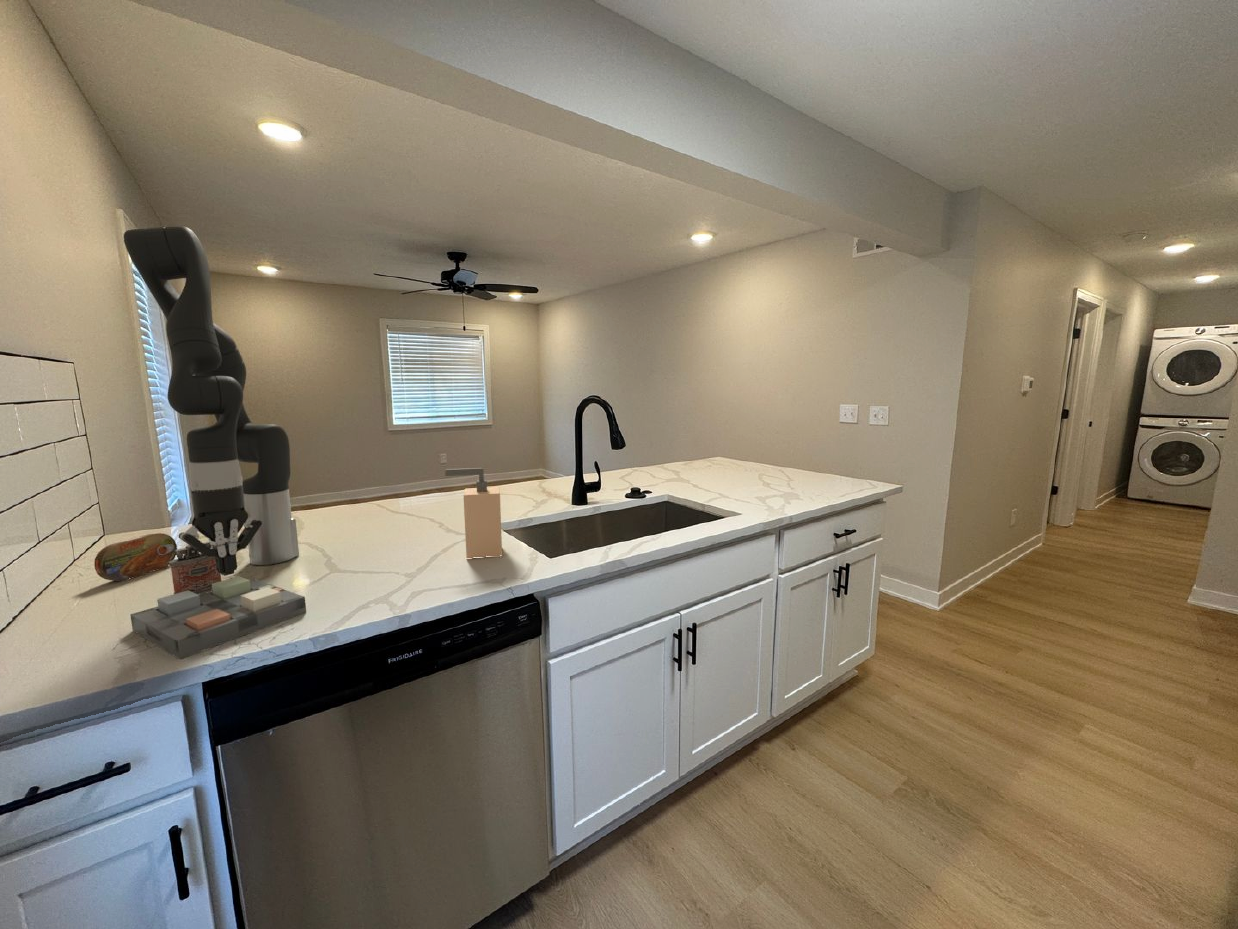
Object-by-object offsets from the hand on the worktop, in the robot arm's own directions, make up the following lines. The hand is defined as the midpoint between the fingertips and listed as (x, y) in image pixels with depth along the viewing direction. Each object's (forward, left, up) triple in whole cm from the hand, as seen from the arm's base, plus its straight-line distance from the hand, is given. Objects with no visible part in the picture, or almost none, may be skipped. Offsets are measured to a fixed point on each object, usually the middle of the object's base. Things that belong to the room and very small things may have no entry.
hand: (227, 573), depth 95 cm
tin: (+2, -38, -7) cm, 39 cm away
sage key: (0, 0, -4) cm, 4 cm away
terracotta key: (+8, +11, -5) cm, 15 cm away
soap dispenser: (-46, +18, -7) cm, 50 cm away
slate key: (+8, 0, -4) cm, 9 cm away
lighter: (0, -14, -7) cm, 16 cm away
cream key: (0, +11, -4) cm, 12 cm away
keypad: (+4, +6, -7) cm, 10 cm away
